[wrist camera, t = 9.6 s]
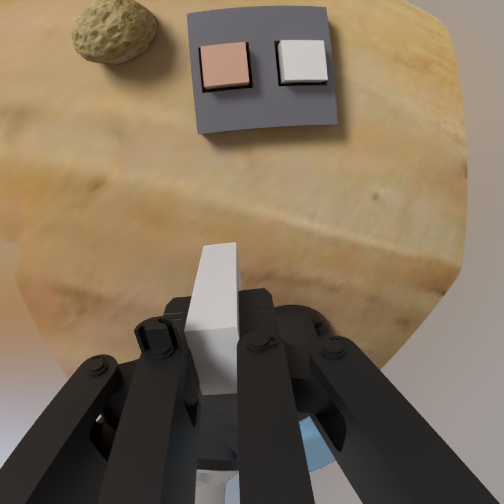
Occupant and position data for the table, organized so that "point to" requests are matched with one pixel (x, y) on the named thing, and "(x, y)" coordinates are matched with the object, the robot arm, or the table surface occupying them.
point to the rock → (113, 31)
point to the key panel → (261, 69)
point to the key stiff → (224, 65)
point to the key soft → (302, 61)
